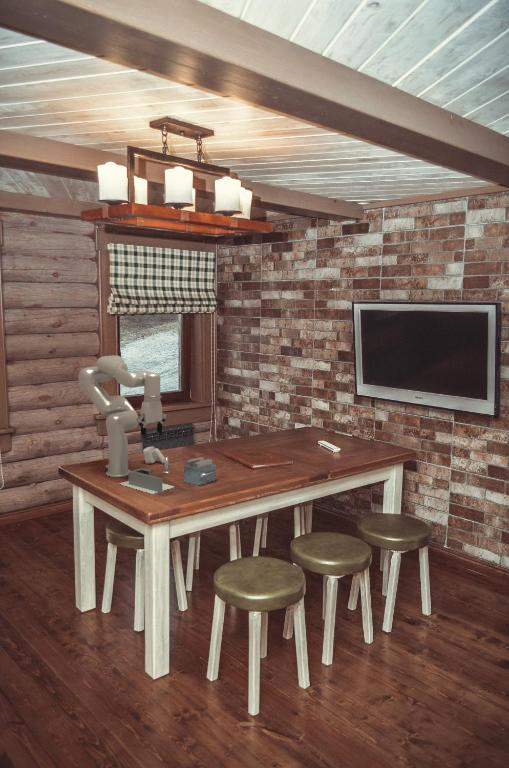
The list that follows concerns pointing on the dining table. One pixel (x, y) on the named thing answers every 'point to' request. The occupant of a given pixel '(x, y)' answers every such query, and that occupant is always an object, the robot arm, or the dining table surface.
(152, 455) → the wall hook
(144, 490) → the mat
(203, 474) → the grey metal pieces
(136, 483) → the crook
